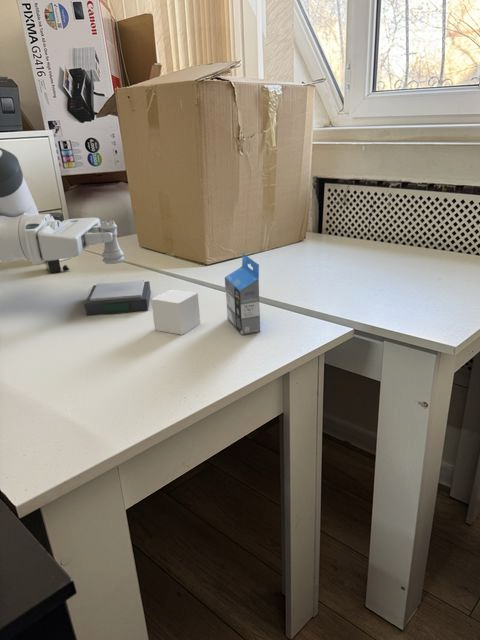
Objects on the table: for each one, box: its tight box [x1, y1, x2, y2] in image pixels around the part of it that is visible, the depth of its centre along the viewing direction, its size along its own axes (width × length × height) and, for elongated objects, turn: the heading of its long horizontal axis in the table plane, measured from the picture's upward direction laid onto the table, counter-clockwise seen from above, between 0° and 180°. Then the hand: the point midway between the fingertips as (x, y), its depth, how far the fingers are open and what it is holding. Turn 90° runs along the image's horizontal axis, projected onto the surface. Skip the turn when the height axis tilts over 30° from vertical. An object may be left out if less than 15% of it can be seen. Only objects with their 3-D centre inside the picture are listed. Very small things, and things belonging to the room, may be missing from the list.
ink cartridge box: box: [224, 252, 261, 336], centre depth 91 cm, size 9×4×12 cm, turn 21°
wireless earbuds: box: [44, 259, 70, 274], centre depth 131 cm, size 5×7×3 cm, turn 31°
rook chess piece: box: [100, 220, 126, 265], centre depth 101 cm, size 4×4×8 cm
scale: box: [84, 280, 152, 316], centre depth 106 cm, size 12×12×3 cm
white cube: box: [150, 288, 201, 336], centre depth 93 cm, size 6×6×6 cm
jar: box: [41, 212, 71, 263], centre depth 140 cm, size 9×8×12 cm
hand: (114, 234), depth 101 cm, fingers closed on rook chess piece, 3 cm apart
